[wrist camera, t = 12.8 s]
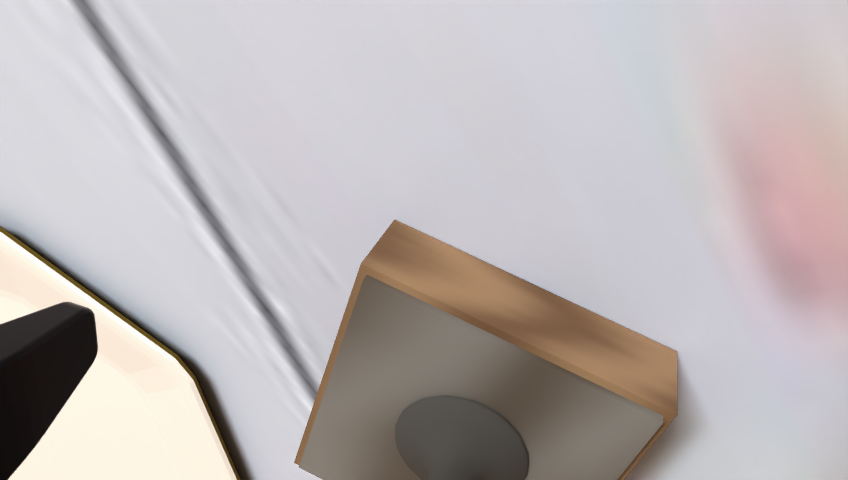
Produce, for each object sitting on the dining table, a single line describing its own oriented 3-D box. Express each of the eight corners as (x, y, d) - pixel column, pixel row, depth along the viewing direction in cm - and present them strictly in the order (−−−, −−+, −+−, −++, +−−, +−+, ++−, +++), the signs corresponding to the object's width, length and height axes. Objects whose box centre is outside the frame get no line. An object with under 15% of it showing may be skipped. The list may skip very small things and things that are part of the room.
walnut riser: (676, 351, 24) (677, 420, 21) (548, 521, 30) (535, 593, 27) (394, 219, 25) (357, 268, 22) (326, 410, 31) (290, 467, 28)
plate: (314, 613, 40) (303, 637, 39) (-7, 550, 50) (-24, 568, 49) (140, 195, 28) (115, 210, 27) (-235, 222, 38) (-265, 234, 37)
